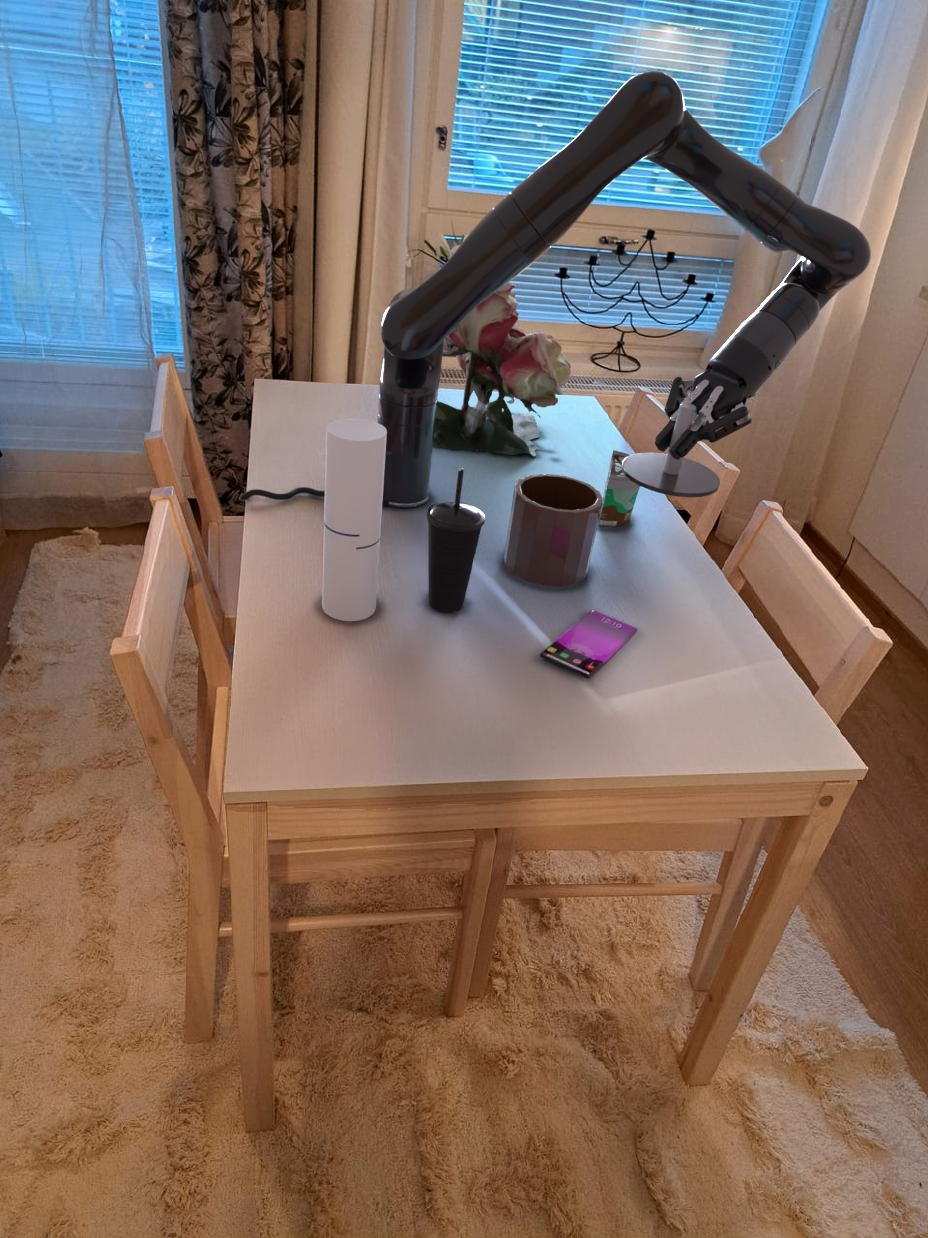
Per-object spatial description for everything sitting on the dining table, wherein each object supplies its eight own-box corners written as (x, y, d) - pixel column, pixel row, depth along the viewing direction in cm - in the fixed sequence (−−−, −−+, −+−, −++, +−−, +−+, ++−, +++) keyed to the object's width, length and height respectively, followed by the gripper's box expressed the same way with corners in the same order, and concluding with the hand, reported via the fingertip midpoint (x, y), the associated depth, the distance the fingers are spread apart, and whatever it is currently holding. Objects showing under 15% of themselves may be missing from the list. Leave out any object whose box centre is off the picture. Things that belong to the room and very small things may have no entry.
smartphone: (537, 659, 112) (538, 653, 111) (590, 612, 123) (591, 607, 122) (587, 682, 109) (589, 676, 108) (637, 632, 120) (639, 627, 119)
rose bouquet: (561, 462, 168) (590, 301, 152) (409, 445, 167) (422, 281, 150) (551, 415, 190) (575, 270, 173) (416, 400, 188) (429, 252, 172)
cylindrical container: (323, 591, 120) (327, 416, 106) (375, 593, 121) (386, 420, 107) (320, 620, 114) (324, 438, 100) (375, 622, 115) (387, 442, 101)
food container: (634, 539, 144) (647, 483, 138) (597, 532, 144) (609, 476, 139) (636, 508, 154) (649, 455, 149) (601, 501, 155) (613, 448, 149)
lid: (659, 506, 114) (679, 428, 108) (601, 464, 124) (617, 390, 118) (738, 496, 120) (761, 421, 114) (677, 456, 129) (696, 386, 124)
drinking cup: (433, 623, 116) (447, 485, 105) (409, 594, 122) (420, 459, 111) (483, 613, 120) (502, 478, 109) (457, 585, 125) (473, 454, 114)
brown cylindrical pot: (529, 595, 125) (543, 516, 118) (489, 553, 134) (500, 478, 127) (602, 582, 130) (619, 506, 124) (558, 543, 140) (572, 470, 133)
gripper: (705, 321, 120) (621, 416, 120) (786, 352, 110) (695, 455, 111) (720, 357, 125) (640, 448, 125) (799, 389, 116) (712, 487, 116)
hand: (666, 451), depth 118 cm, fingers closed on lid
